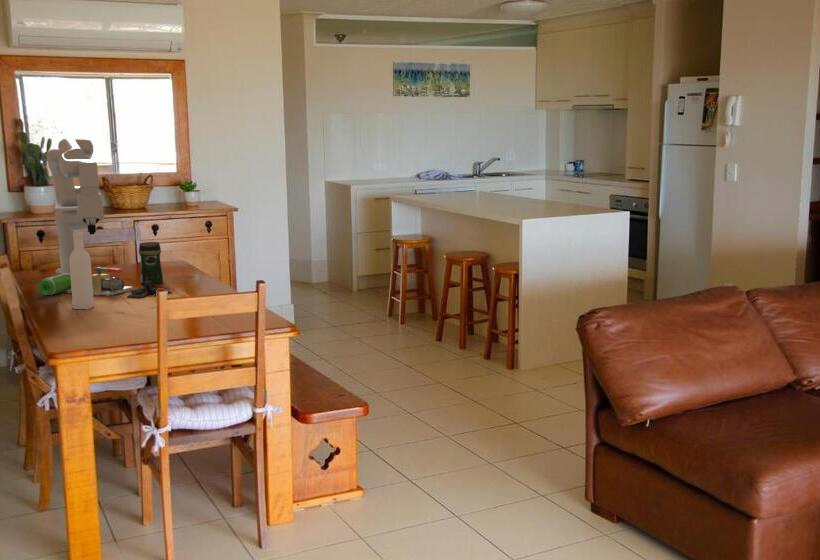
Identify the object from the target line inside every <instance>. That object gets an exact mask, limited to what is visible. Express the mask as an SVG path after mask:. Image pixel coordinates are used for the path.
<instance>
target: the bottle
mask: <svg viewBox="0 0 820 560" xmlns="http://www.w3.org/2000/svg"><path fill="white" fill-rule="evenodd" d="M73 239H74V251H73V252H72V253H71V254H70V258H69V263H70V277H71V290H72V294H71V303H72V309H73V308H75V309H86V310H88V309H87V308H91V309H93V308H95V299H94V295H93V286H92V275H93V274H92V260H91V256H90V253H89V252H88V251H87V250H85V243H84V241H85V240H84V232H83V230H77V231H74V232H73ZM92 307H93V308H92ZM75 309H74V310H75Z"/></svg>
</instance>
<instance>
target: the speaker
mask: <svg viewBox="0 0 820 560" xmlns="http://www.w3.org/2000/svg"><path fill="white" fill-rule="evenodd" d="M37 288H38V291H39V293H40V294H42V295H43V296H47V295H50V296H53V294H55V295H58V294H57V293H59V294H61V293H60V292H62V293H64V292H63V291H65V292H66V290H70V289H71V277H70V274H69V273H63V274H60V273H58V274H56V275H53V276H50V277H46V278H44V279H42V280H41V281H39V283H38V286H37Z"/></svg>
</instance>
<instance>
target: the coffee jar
mask: <svg viewBox="0 0 820 560" xmlns="http://www.w3.org/2000/svg"><path fill="white" fill-rule="evenodd" d="M138 245H139V246H138V254H139V256H140V283H141V284H143V285H145V282H146V281H151V282H153V283H154V284H155V285H156V284H161V283H163V282H164V278H163V270H162V265H161V264H162V263H161V253H162V250H161V245H160V242H158V241H145V242H140V243H139V244H138Z"/></svg>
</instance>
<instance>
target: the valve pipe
mask: <svg viewBox="0 0 820 560" xmlns="http://www.w3.org/2000/svg"><path fill="white" fill-rule="evenodd" d="M92 286H93V294H94V295H93V296H99V295H106V296H105V297H111V296H110V295H112V296H114V294H115V295H119V294H122V293H126V292H129V290H130V291H133V290H134V286H129V285H128V286H127V285H125V281H124V280H123V279H120V277H117V276H113V277H110V273H101V274H97V273H94V274H92ZM132 289H133V290H132ZM125 291H126V292H125ZM65 292H66V294H71V293H72V290H71V289H69V290H66V291H65ZM118 293H119V294H118Z"/></svg>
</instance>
